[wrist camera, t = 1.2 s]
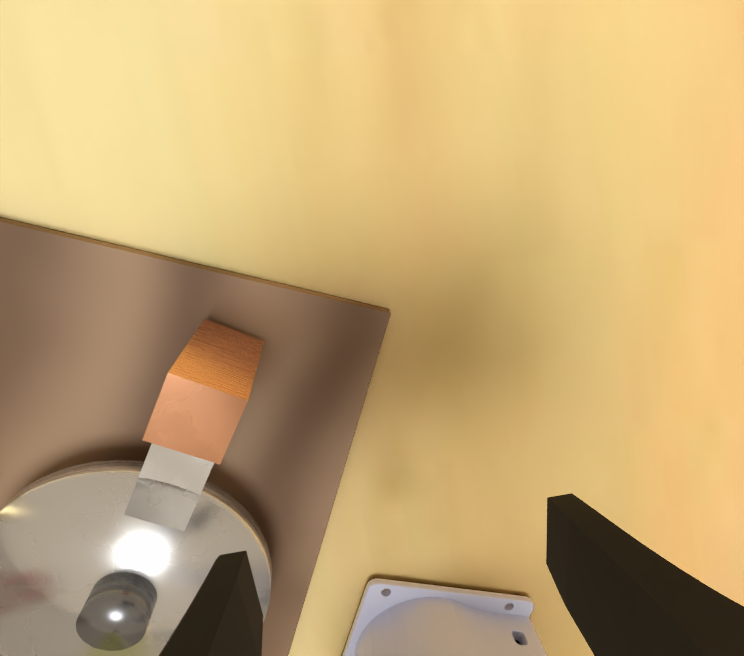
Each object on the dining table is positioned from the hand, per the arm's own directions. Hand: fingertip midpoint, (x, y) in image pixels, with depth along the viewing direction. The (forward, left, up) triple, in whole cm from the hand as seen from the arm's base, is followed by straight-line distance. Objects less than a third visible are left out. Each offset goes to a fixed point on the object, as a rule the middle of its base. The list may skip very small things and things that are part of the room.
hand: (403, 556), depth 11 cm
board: (+9, +8, -10) cm, 16 cm away
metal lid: (+7, +8, -9) cm, 14 cm away
